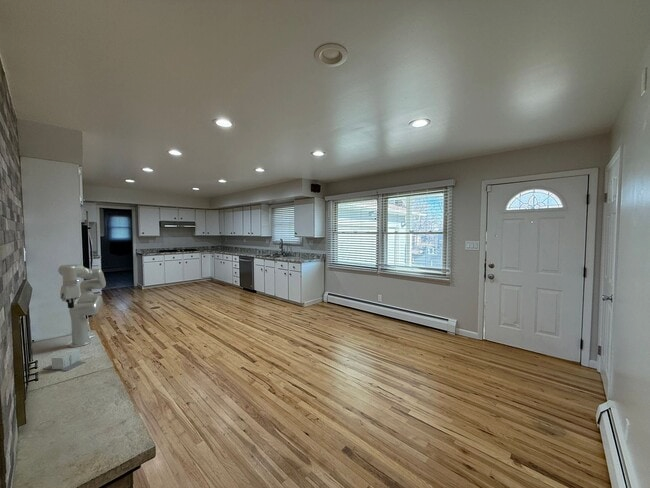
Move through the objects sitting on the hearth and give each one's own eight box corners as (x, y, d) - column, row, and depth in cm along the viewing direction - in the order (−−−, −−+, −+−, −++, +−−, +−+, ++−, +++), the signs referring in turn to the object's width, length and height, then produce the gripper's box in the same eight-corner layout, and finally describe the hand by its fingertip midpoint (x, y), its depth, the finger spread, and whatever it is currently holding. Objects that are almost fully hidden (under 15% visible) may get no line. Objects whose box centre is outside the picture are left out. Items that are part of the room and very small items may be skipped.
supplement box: (81, 360, 187) (63, 369, 174) (70, 360, 187) (51, 369, 174) (80, 349, 186) (62, 358, 174) (69, 349, 187) (50, 357, 174)
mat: (63, 360, 187) (63, 360, 187) (85, 362, 184) (85, 361, 184) (42, 369, 175) (42, 368, 175) (66, 371, 172) (66, 370, 172)
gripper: (76, 281, 208) (77, 305, 209) (54, 284, 194) (55, 310, 194) (84, 281, 207) (85, 305, 208) (62, 284, 192) (63, 310, 193)
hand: (70, 307), depth 201 cm, fingers closed
